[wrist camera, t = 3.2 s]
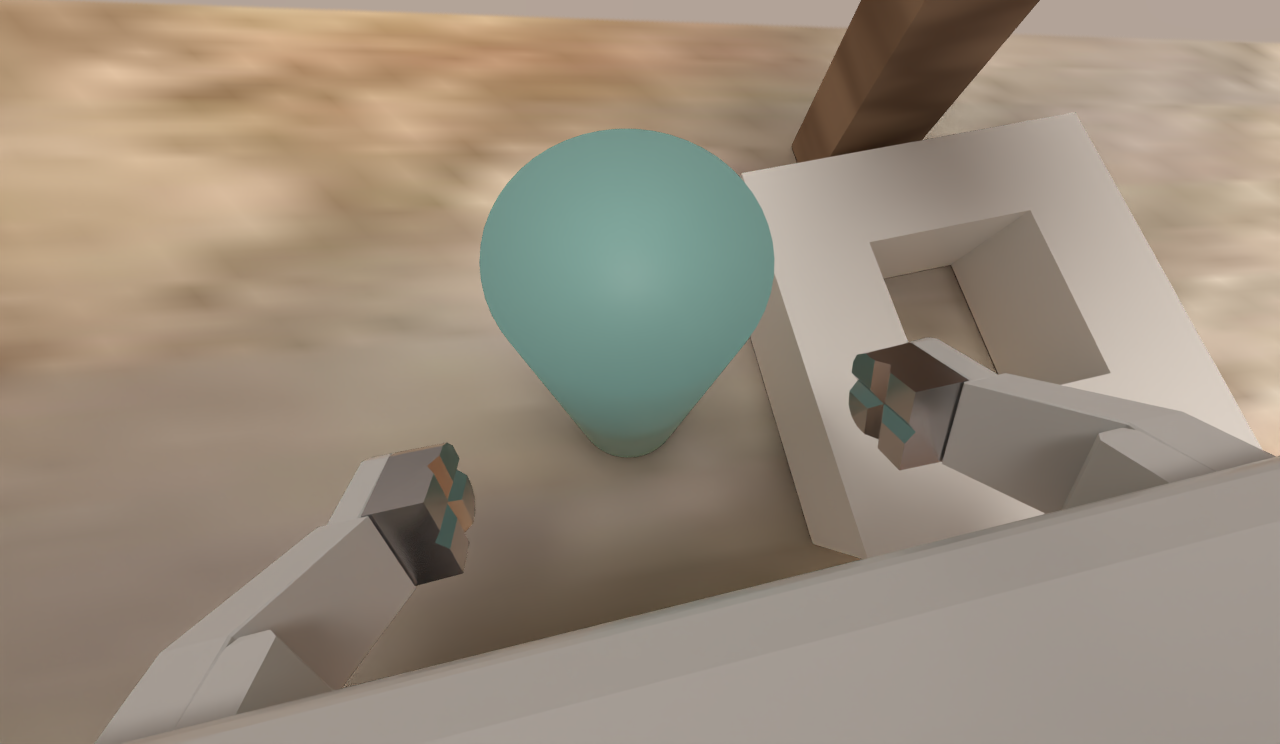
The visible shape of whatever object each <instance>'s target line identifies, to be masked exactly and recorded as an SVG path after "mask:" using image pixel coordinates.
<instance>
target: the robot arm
mask: <svg viewBox="0 0 1280 744" xmlns="http://www.w3.org/2000/svg"><path fill="white" fill-rule="evenodd" d="M852 374H853V375H854V376H855V378H856V379H857V382H856V383H855V384H854V386H853V387H852V388H851V390H850V391H849V404H848V405H849V409H850V412H851V416H852V418H853V420H854V422H855V424H856V426H857V427H858V428H859V429H860V430H861V431H862V432H863V433H864V434H866V435H868V436H871V437H874V438H876V439H878V449H879V450H880V451H881V452H882V453H883V454H884V455H885V456H886V457H887V458H888V459H889V460H890V461H891V462H892V463H893V464H894V466H895V467H896V468H897V469H898V470H904V469H909V468H914V467H919V466H923V465H928V464H933V463H938V462H942V464H943V465H945V466H947V467H949V468H952V469H954V470H956V471H958V472H960V473H962V474H964V475H966V476H968V477H970V478H972V479H974V480H976V481H979V482H981V483H983V484H985V485H987V486H989V487H991V488H993V489H995V490H997V491H999V492H1001V493H1004V494H1006V495H1008V496H1010V497H1012V498H1014V499H1016V500H1018V501H1020V502H1022V503H1024V504H1026V505H1028V506H1031V507H1033V508H1035V509H1037V510H1039V511H1041V512H1043V513H1045V514H1043V515H1039V516H1035V517H1031V518H1027V519H1023V520H1019V521H1015V522H1011V523H1007V524H1003V525H998V526H994V527H990V528H986V529H982V530H978V531H974V532H970V533H966V534H962V535H958V536H954V537H950V538H946V539H942V540H938V541H934V542H930V543H926V544H922V545H918V546H914V547H910V548H906V549H902V550H898V551H894V552H890V553H886V554H882V555H878V556H874V557H870V558H866V559H862V560H858V561H853V562H849V563H845V564H841V565H837V566H833V567H829V568H825V569H821V570H817V571H813V572H809V573H805V574H801V575H797V576H793V577H789V578H785V579H781V580H777V581H773V582H769V583H765V584H761V585H757V586H753V587H749V588H745V589H741V590H737V591H733V592H728V593H724V594H720V595H716V596H712V597H708V598H704V599H700V600H696V601H692V602H688V603H684V604H680V605H676V606H672V607H668V608H664V609H660V610H656V611H652V612H648V613H644V614H640V615H636V616H632V617H628V618H624V619H620V620H616V621H611V622H607V623H603V624H599V625H595V626H591V627H587V628H583V629H579V630H575V631H571V632H567V633H563V634H559V635H555V636H551V637H547V638H543V639H539V640H535V641H531V642H527V643H523V644H519V645H515V646H511V647H507V648H503V649H499V650H495V651H491V652H487V653H483V654H479V655H475V656H470V657H466V658H462V659H458V660H454V661H450V662H446V663H442V664H438V665H434V666H430V667H426V668H422V669H418V670H414V671H410V672H406V673H402V674H398V675H394V676H390V677H386V678H382V679H378V680H374V681H370V682H366V683H362V684H358V685H354V686H350V687H346V688H342V687H343V686H344V684H345V683H346V682H347V680H348V679H349V678H350V676H351V675H352V674H353V672H354V671H355V670H356V668H357V667H358V666H359V664H360V663H361V662H362V660H363V659H364V658H365V656H366V655H367V654H368V652H369V651H370V650H371V648H372V647H373V646H374V644H375V643H376V642H377V640H378V639H379V637H380V636H381V635H382V633H383V632H384V631H385V629H386V628H387V627H388V625H389V624H390V623H391V621H392V620H393V619H394V617H395V616H396V615H397V613H398V612H399V611H400V609H401V608H402V607H403V605H404V604H405V603H406V601H407V600H408V599H409V597H410V596H411V594H412V593H413V592H414V590H415V589H416V587H415V586H417V585H420V584H424V583H428V582H432V581H436V580H439V579H443V578H447V577H451V576H454V575H458V574H462V573H464V568H465V563H466V558H467V553H468V548H469V543H470V542H469V540H468V538H467V536H466V534H465V532H466V531H467V530H468V529H469V527H470V526H471V525H472V524H473V522H474V516H475V496H474V492H473V488H472V485H471V483H470V480H469V478H468V476H467V475H465V474H464V473H462V472H460V471H458V470H457V466H458V462H459V457H458V455H457V453H456V451H455V449H454V447H453V445H451V444H449V443H442V444H437V445H431V446H426V447H421V448H416V449H411V450H406V451H401V452H396V453H394V454H393V453H390V454H386V455H381V456H377V457H372V458H368V459H366V460H364V461H362V462H361V464H360V465H359V467H358V469H357V471H356V473H355V474H354V476H353V478H352V480H351V482H350V484H349V485H348V487H347V489H346V491H345V493H344V494H343V496H342V498H341V500H340V502H339V503H338V505H337V507H336V509H335V511H334V513H333V514H332V516H331V518H330V520H329V522H328V523H327V525H325V526H321V527H317V528H316V529H315V530H313V531H312V532H311V533H310V534H308V535H307V536H306V537H304V538H303V539H302V540H301V541H299V542H298V543H297V544H296V545H294V546H293V547H292V548H291V549H289V550H288V551H287V552H286V553H284V554H283V555H282V556H281V557H279V558H278V559H277V560H276V561H274V562H273V563H272V564H271V565H269V566H268V567H267V568H266V569H264V570H263V571H262V572H261V573H259V574H258V575H257V576H256V577H254V578H253V579H252V580H251V581H249V582H248V583H247V584H246V585H244V586H243V587H242V588H241V589H239V590H238V591H237V592H236V593H234V594H233V595H232V596H231V597H229V598H228V599H227V600H226V601H224V602H223V603H222V604H221V605H219V606H218V607H217V608H216V609H214V610H213V611H212V612H211V613H209V614H208V615H207V616H206V617H204V618H203V619H202V620H201V621H199V622H198V623H197V624H196V625H194V626H193V627H192V628H191V629H189V630H188V631H187V632H185V633H184V634H183V635H182V636H180V637H179V638H178V639H177V640H175V641H174V642H173V643H172V644H170V645H169V646H168V647H167V648H165V649H164V650H163V651H162V652H160V653H159V655H158V656H157V657H156V659H155V660H154V662H153V663H152V664H151V666H150V667H149V668H148V670H147V671H146V673H145V674H144V675H143V677H142V678H141V679H140V681H139V682H138V684H137V685H136V686H135V688H134V689H133V691H132V692H131V693H130V695H129V696H128V697H127V699H126V700H125V702H124V703H123V704H122V706H121V707H120V708H119V710H118V711H117V713H116V714H115V715H114V717H113V718H112V719H111V721H110V722H109V724H108V725H107V726H106V728H105V729H104V730H103V732H102V733H101V735H100V736H99V737H98V739H97V740H96V741H95V743H94V744H1280V456H1277V457H1276V456H1274V455H1272V454H1270V453H1267V452H1265V451H1263V450H1261V449H1259V448H1257V447H1255V446H1253V445H1251V444H1249V443H1247V442H1245V441H1243V440H1241V439H1238V438H1236V437H1234V436H1232V435H1230V434H1228V433H1226V432H1224V431H1222V430H1220V429H1218V428H1216V427H1214V426H1212V425H1209V424H1207V423H1205V422H1203V421H1201V420H1199V419H1197V418H1195V417H1193V416H1191V415H1189V414H1187V413H1185V412H1182V411H1177V410H1173V409H1168V408H1164V407H1159V406H1154V405H1150V404H1145V403H1141V402H1136V401H1132V400H1127V399H1122V398H1118V397H1113V396H1109V395H1104V394H1099V393H1095V392H1090V391H1086V390H1081V389H1077V388H1072V387H1067V386H1063V385H1058V384H1054V383H1049V382H1044V381H1040V380H1035V379H1031V378H1026V377H1022V376H1017V375H1012V374H1008V373H1004V374H999V375H998V374H996V373H994V372H993V371H991V370H989V369H988V368H986V367H984V366H983V365H981V364H979V363H978V362H976V361H974V360H972V359H971V358H969V357H967V356H966V355H964V354H962V353H961V352H959V351H957V350H956V349H954V348H952V347H950V346H949V345H947V344H945V343H944V342H942V341H940V340H939V339H937V338H930V337H927V338H923V339H919V340H915V341H911V342H907V343H904V344H901V345H897V346H892V347H888V348H884V349H879V350H875V351H871V352H866V353H862V354H858V355H856V357H855V359H854V361H853V366H852Z"/></svg>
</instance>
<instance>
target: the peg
mask: <svg viewBox="0 0 1280 744" xmlns="http://www.w3.org/2000/svg"><path fill="white" fill-rule="evenodd" d="M774 259H775V258H774V249H773V241H772V237H771V233H770V229H769V225H768V223H767V220H766V218H765V215H764V213H763V210H762V208H761V206H760V205H759V203H758V201H757V199H756V198H755V196H754V194H753V193H752V191H751V190H750V189H749V188H748V186H747V185H746V184H745V182H744V181H743V180H742V179H741V178H740V177H739V176H738V175H737V174H736V173H735V172H734V171H733V170H732V169H731V168H730V167H729V166H728V165H727V164H725V163H724V162H723V161H722V160H720V159H719V158H718V157H716V156H715V155H713V154H712V153H710V152H708V151H707V150H705V149H703V148H702V147H700V146H697V145H695V144H693V143H691V142H689V141H687V140H684V139H681V138H678V137H675V136H672V135H669V134H665V133H660V132H656V131H650V130H640V129H612V130H603V131H596V132H592V133H588V134H583V135H580V136H577V137H574V138H571V139H568V140H566V141H563V142H561V143H559V144H557V145H555V146H553V147H551V148H549V149H547V150H546V151H544V152H543V153H541V154H540V155H538V156H536V157H535V158H533V159H532V160H531V161H530V162H529V163H527V164H526V165H525V166H524V167H523V168H521V169H520V170H519V171H518V172H517V174H516V175H515V176H514V177H513V178H512V179H511V180H510V181H509V182H508V183H507V185H506V186H505V188H504V189H503V190H502V192H501V193H500V195H499V196H498V198H497V200H496V202H495V203H494V205H493V207H492V209H491V211H490V214H489V216H488V219H487V222H486V224H485V227H484V231H483V236H482V241H481V247H480V274H481V282H482V287H483V291H484V295H485V299H486V301H487V304H488V306H489V309H490V312H491V314H492V316H493V318H494V320H495V321H496V323H497V325H498V327H499V328H500V330H501V332H502V333H503V334H504V336H505V337H506V338H507V339H508V341H509V342H510V343H511V345H512V346H513V347H514V348H515V349H516V351H517V352H518V353H519V354H520V356H521V357H522V358H523V359H524V360H525V362H526V363H527V364H528V365H529V367H530V368H531V369H532V370H533V371H534V373H535V374H536V375H537V376H538V378H539V379H540V380H541V381H542V382H543V384H544V385H545V386H546V387H547V389H548V390H549V391H550V392H551V393H552V395H553V396H554V397H555V398H556V400H557V401H558V402H559V403H560V404H561V406H562V407H563V408H564V409H565V411H566V412H567V413H568V414H569V415H570V417H571V418H572V419H573V420H574V422H575V423H576V424H577V425H578V426H579V428H580V429H581V430H582V431H583V433H584V434H585V435H586V436H587V437H588V439H589V440H590V441H591V442H592V443H593V444H594V445H595V446H597V447H598V448H599V449H601V450H602V451H604V452H606V453H608V454H611V455H614V456H618V457H626V458H627V457H638V456H642V455H646V454H648V453H650V452H652V451H654V450H656V449H657V448H659V447H660V446H661V445H662V444H664V442H665V441H666V440H667V439H668V438H669V437H670V436H671V434H672V433H673V432H674V431H675V429H676V428H677V427H678V426H679V424H680V423H681V422H682V421H683V420H684V418H685V417H686V416H687V415H688V413H689V412H690V411H691V410H692V408H693V407H694V406H695V405H696V403H697V402H698V401H699V400H700V398H701V397H702V396H703V395H704V394H705V392H706V391H707V390H708V389H709V387H710V386H711V385H712V384H713V382H714V381H715V380H716V379H717V377H718V376H719V375H720V374H721V372H722V371H723V370H724V369H725V368H726V366H727V365H728V364H729V363H730V361H731V360H732V359H733V358H734V356H735V355H736V354H737V353H738V351H739V350H740V349H741V348H742V346H743V345H744V344H745V343H746V341H747V340H748V339H749V337H750V336H751V334H752V333H753V331H754V330H755V329H756V327H757V325H758V323H759V321H760V319H761V317H762V315H763V314H764V312H765V309H766V306H767V303H768V300H769V297H770V294H771V290H772V284H773V278H774Z"/></svg>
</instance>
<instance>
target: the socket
mask: <svg viewBox="0 0 1280 744" xmlns="http://www.w3.org/2000/svg"><path fill="white" fill-rule="evenodd" d="M740 178H741V179H742V180H743V181H744V182H745V184H746V185H747V186H748V188H749V189H750V190H751V191H752V193H753V194H754V196H755V198H756V199H757V201H758V203H759V205H760V206H761V208H762V210H763V213H764V215H765V218H766V220H767V223H768V225H769V229H770V233H771V237H772V241H773V249H774V258H775V259H774V278H773V284H772V290H771V294H770V297H769V300H768V303H767V306H766V309H765V312H764V314H763V315H762V317H761V319H760V321H759V323H758V325H757V327H756V329H755V330H754V331H753V333H752V334H751V336H750V338H751V341H752V344H753V348H754V351H755V354H756V358H757V361H758V364H759V368H760V371H761V374H762V378H763V381H764V384H765V388H766V391H767V394H768V397H769V401H770V404H771V407H772V411H773V414H774V417H775V421H776V424H777V427H778V431H779V434H780V437H781V441H782V444H783V447H784V451H785V454H786V457H787V461H788V464H789V467H790V471H791V474H792V477H793V480H794V484H795V487H796V490H797V494H798V497H799V500H800V504H801V507H802V510H803V514H804V517H805V520H806V524H807V527H808V530H809V534H810V537H811V540H812V544H815V545H818V546H821V547H825V548H828V549H831V550H835V551H838V552H841V553H844V554H848V555H851V556H854V557H858V558H861V559H866V558H870V557H874V556H878V555H882V554H886V553H890V552H894V551H898V550H902V549H906V548H910V547H914V546H918V545H922V544H926V543H930V542H934V541H938V540H942V539H946V538H950V537H954V536H958V535H962V534H966V533H970V532H974V531H978V530H982V529H986V528H990V527H994V526H998V525H1003V524H1007V523H1011V522H1015V521H1019V520H1023V519H1027V518H1031V517H1035V516H1039V515H1043V514H1045V513H1043V512H1041V511H1039V510H1037V509H1035V508H1033V507H1031V506H1028V505H1026V504H1024V503H1022V502H1020V501H1018V500H1016V499H1014V498H1012V497H1010V496H1008V495H1006V494H1004V493H1001V492H999V491H997V490H995V489H993V488H991V487H989V486H987V485H985V484H983V483H981V482H979V481H976V480H974V479H972V478H970V477H968V476H966V475H964V474H962V473H960V472H958V471H956V470H954V469H952V468H949V467H947V466H945V465H943V464H942V462H938V463H933V464H928V465H923V466H919V467H914V468H909V469H904V470H898V469H897V468H896V467H895V466H894V464H893V463H892V462H891V461H890V460H889V459H888V458H887V457H886V456H885V455H884V454H883V453H882V452H881V451H880V450H879V449H878V439H876V438H874V437H871V436H868V435H866V434H864V433H863V432H862V431H861V430H860V429H859V428H858V427H857V426H856V424H855V422H854V420H853V418H852V416H851V412H850V409H849V405H848V404H849V391H850V390H851V388H852V387H853V386H854V384H855V383H856V382H857V379H856V378H855V376H854V375H853V374H852V366H853V361H854V359H855V357H856V355H858V354H862V353H866V352H871V351H875V350H879V349H884V348H888V347H892V346H897V345H901V344H904V343H907V342H908V340H907V338H906V335H905V333H904V330H903V328H902V325H901V322H900V320H899V317H898V315H897V312H896V310H895V307H894V304H893V302H892V299H891V297H890V294H889V292H888V289H887V286H886V284H885V281H884V279H885V278H890V277H895V276H899V275H904V274H909V273H914V272H919V271H924V270H928V269H933V268H938V267H943V266H948V265H951V266H952V268H953V270H954V273H955V275H956V277H957V280H958V282H959V284H960V287H961V289H962V291H963V294H964V296H965V298H966V301H967V303H968V305H969V308H970V310H971V312H972V314H973V317H974V319H975V321H976V324H977V326H978V328H979V331H980V333H981V335H982V338H983V340H984V342H985V345H986V347H987V349H988V352H989V354H990V356H991V358H992V361H993V363H994V365H995V368H996V370H997V372H998V375H999V374H1004V373H1008V374H1012V375H1017V376H1022V377H1026V378H1031V379H1035V380H1040V381H1044V382H1049V383H1054V384H1058V385H1063V386H1067V387H1072V388H1077V389H1081V390H1086V391H1090V392H1095V393H1099V394H1104V395H1109V396H1113V397H1118V398H1122V399H1127V400H1132V401H1136V402H1141V403H1145V404H1150V405H1154V406H1159V407H1164V408H1168V409H1173V410H1177V411H1182V412H1185V413H1187V414H1189V415H1191V416H1193V417H1195V418H1197V419H1199V420H1201V421H1203V422H1205V423H1207V424H1209V425H1212V426H1214V427H1216V428H1218V429H1220V430H1222V431H1224V432H1226V433H1228V434H1230V435H1232V436H1234V437H1236V438H1238V439H1241V440H1243V441H1245V442H1247V443H1249V444H1251V445H1253V446H1255V447H1257V448H1259V449H1261V450H1262V448H1261V446H1260V444H1259V442H1258V441H1257V439H1256V437H1255V435H1254V433H1253V432H1252V430H1251V428H1250V426H1249V424H1248V423H1247V421H1246V419H1245V417H1244V415H1243V414H1242V412H1241V410H1240V408H1239V406H1238V405H1237V403H1236V401H1235V399H1234V397H1233V396H1232V394H1231V392H1230V390H1229V388H1228V387H1227V385H1226V383H1225V381H1224V379H1223V377H1222V376H1221V374H1220V372H1219V370H1218V368H1217V367H1216V365H1215V363H1214V361H1213V359H1212V358H1211V356H1210V354H1209V352H1208V350H1207V349H1206V347H1205V345H1204V343H1203V341H1202V340H1201V338H1200V336H1199V334H1198V332H1197V331H1196V329H1195V327H1194V325H1193V323H1192V322H1191V320H1190V318H1189V316H1188V314H1187V312H1186V311H1185V309H1184V307H1183V305H1182V303H1181V302H1180V300H1179V298H1178V296H1177V294H1176V293H1175V291H1174V289H1173V287H1172V285H1171V284H1170V282H1169V280H1168V278H1167V276H1166V275H1165V273H1164V271H1163V269H1162V267H1161V266H1160V264H1159V262H1158V260H1157V258H1156V257H1155V255H1154V253H1153V251H1152V249H1151V247H1150V246H1149V244H1148V242H1147V240H1146V238H1145V237H1144V235H1143V233H1142V231H1141V229H1140V228H1139V226H1138V224H1137V222H1136V220H1135V219H1134V217H1133V215H1132V213H1131V211H1130V210H1129V208H1128V206H1127V204H1126V202H1125V201H1124V199H1123V197H1122V195H1121V193H1120V192H1119V190H1118V188H1117V186H1116V184H1115V183H1114V181H1113V179H1112V177H1111V175H1110V173H1109V172H1108V170H1107V168H1106V166H1105V164H1104V163H1103V161H1102V159H1101V157H1100V155H1099V154H1098V152H1097V150H1096V148H1095V146H1094V145H1093V143H1092V141H1091V139H1090V137H1089V136H1088V134H1087V132H1086V130H1085V128H1084V127H1083V125H1082V123H1081V121H1080V119H1079V118H1078V116H1077V114H1076V112H1074V113H1068V114H1063V115H1057V116H1052V117H1046V118H1041V119H1035V120H1030V121H1024V122H1019V123H1014V124H1008V125H1003V126H997V127H992V128H986V129H981V130H975V131H970V132H964V133H959V134H953V135H948V136H942V137H937V138H931V139H926V140H920V141H915V142H909V143H904V144H899V145H893V146H888V147H882V148H877V149H871V150H866V151H860V152H855V153H849V154H844V155H838V156H833V157H827V158H822V159H816V160H811V161H805V162H800V163H794V164H789V165H784V166H778V167H773V168H767V169H762V170H756V171H751V172H745V173H742V174H741V177H740Z"/></svg>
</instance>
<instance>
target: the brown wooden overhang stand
mask: <svg viewBox="0 0 1280 744" xmlns="http://www.w3.org/2000/svg"><path fill="white" fill-rule="evenodd" d="M1039 1H1040V0H861V2H860V4H859V6H858V8H857V10H856V12H855V14H854V16H853V18H852V21H851V23H850V25H849V27H848V29H847V31H846V33H845V35H844V37H843V39H842V41H841V44H840V46H839V48H838V50H837V52H836V54H835V56H834V58H833V60H832V62H831V64H830V67H829V69H828V71H827V73H826V75H825V77H824V79H823V81H822V83H821V85H820V87H819V90H818V92H817V94H816V96H815V98H814V100H813V102H812V104H811V106H810V108H809V111H808V113H807V115H806V117H805V119H804V121H803V123H802V125H801V127H800V129H799V131H798V134H797V136H796V138H795V140H794V142H793V144H792V149H793V151H794V154H795V157H796V160H797V162H798V163H800V162H805V161H811V160H816V159H822V158H827V157H833V156H838V155H844V154H849V153H855V152H860V151H866V150H871V149H877V148H882V147H888V146H893V145H899V144H904V143H909V142H915V141H920V140H922V139H923V138H924V137H925V136H926V134H927V133H928V132H929V131H930V130H931V128H932V127H933V126H934V125H935V124H936V123H937V121H938V120H939V119H940V118H941V117H942V115H943V114H944V113H945V112H946V111H947V110H948V108H949V107H950V106H951V105H952V104H953V102H954V101H955V100H956V99H957V98H958V96H959V95H960V94H961V93H962V92H963V91H964V89H965V88H966V87H967V86H968V85H969V83H970V82H971V81H972V80H973V79H974V78H975V76H976V75H977V74H978V73H979V72H980V70H981V69H982V68H983V67H984V66H985V65H986V63H987V62H988V61H989V60H990V59H991V57H992V56H993V55H994V54H995V53H996V51H997V50H998V49H999V48H1000V47H1001V46H1002V44H1003V43H1004V42H1005V41H1006V40H1007V38H1008V37H1009V36H1010V35H1011V34H1012V33H1013V31H1014V30H1015V28H1017V27H1018V25H1019V24H1020V23H1021V22H1022V21H1023V19H1024V18H1025V17H1026V16H1027V15H1028V14H1029V12H1030V11H1031V10H1032V9H1033V8H1034V6H1035V5H1036V4H1037V3H1038V2H1039Z"/></svg>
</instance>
